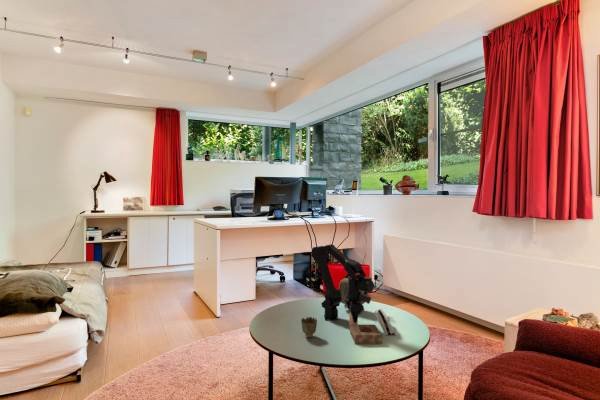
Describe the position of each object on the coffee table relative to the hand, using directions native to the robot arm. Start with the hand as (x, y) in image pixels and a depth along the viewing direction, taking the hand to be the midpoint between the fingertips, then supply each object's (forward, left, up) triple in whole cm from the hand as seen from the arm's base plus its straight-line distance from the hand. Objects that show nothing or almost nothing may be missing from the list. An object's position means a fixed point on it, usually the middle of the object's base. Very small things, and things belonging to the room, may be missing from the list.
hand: (353, 319), depth 171 cm
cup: (-23, -11, -4) cm, 26 cm away
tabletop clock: (+4, +24, -4) cm, 25 cm away
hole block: (+3, -13, -4) cm, 14 cm away
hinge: (+15, -2, -4) cm, 16 cm away
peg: (0, 0, -4) cm, 4 cm away
